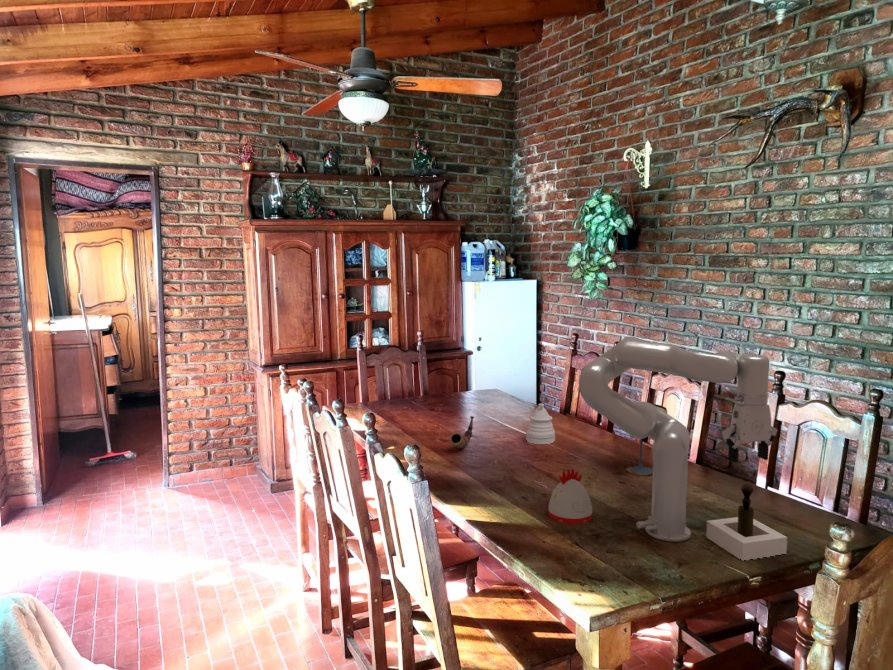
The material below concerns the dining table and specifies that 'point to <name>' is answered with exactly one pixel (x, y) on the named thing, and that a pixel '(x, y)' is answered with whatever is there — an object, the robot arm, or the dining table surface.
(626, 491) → the dining table surface
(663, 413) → the robot arm
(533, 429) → the honey pot
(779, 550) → the socket
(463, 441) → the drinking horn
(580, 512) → the kitchen timer
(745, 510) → the pepper mill
